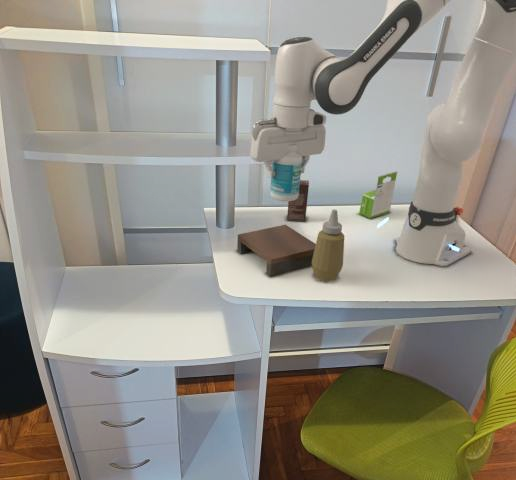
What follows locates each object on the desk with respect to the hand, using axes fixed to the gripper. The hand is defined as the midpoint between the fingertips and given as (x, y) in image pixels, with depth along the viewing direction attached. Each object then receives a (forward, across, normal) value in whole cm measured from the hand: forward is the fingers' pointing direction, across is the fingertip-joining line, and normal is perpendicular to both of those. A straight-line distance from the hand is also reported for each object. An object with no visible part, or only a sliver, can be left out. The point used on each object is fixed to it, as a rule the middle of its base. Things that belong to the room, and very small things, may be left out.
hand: (286, 175), depth 128 cm
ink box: (+22, +46, +12) cm, 53 cm away
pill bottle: (+6, 0, 0) cm, 6 cm away
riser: (+22, -1, -1) cm, 22 cm away
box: (+22, +20, +20) cm, 36 cm away
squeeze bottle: (+22, +4, -16) cm, 28 cm away
